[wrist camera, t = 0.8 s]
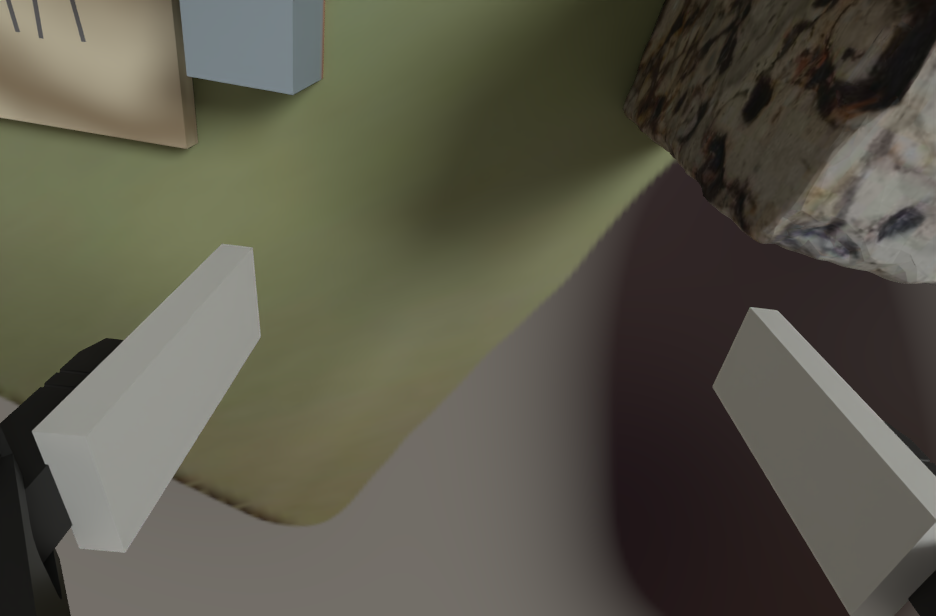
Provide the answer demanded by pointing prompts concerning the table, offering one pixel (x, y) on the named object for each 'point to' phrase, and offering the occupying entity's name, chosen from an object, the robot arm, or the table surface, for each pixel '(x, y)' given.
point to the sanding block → (255, 42)
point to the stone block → (804, 122)
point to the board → (98, 68)
